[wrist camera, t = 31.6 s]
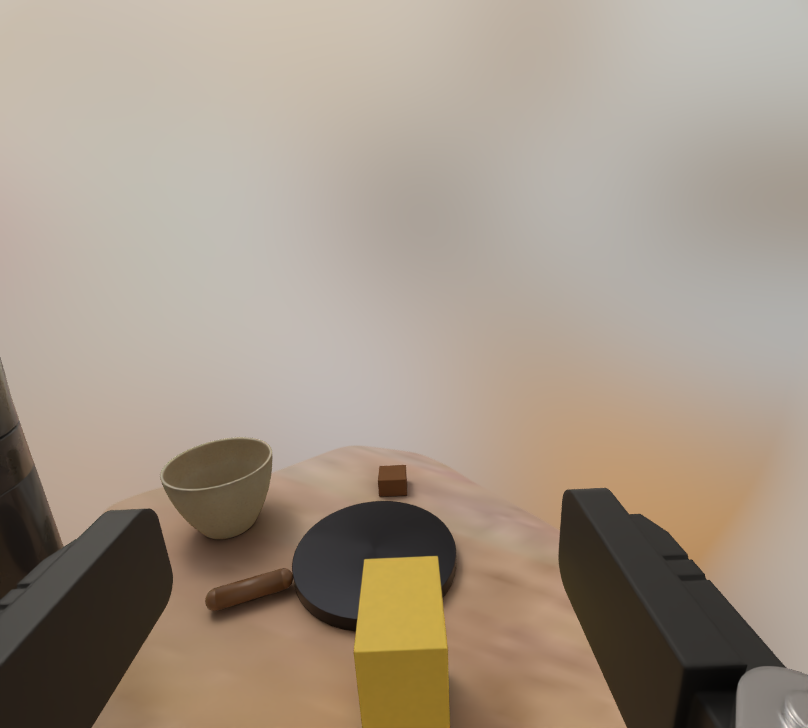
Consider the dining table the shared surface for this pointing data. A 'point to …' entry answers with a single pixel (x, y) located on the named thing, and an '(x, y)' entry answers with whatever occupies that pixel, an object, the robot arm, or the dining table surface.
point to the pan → (348, 559)
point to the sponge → (402, 645)
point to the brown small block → (392, 480)
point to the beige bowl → (220, 485)
